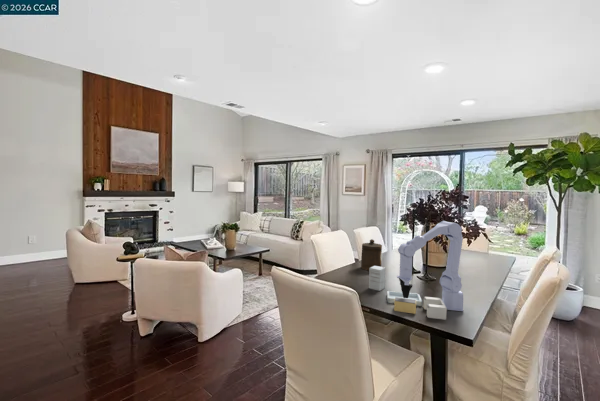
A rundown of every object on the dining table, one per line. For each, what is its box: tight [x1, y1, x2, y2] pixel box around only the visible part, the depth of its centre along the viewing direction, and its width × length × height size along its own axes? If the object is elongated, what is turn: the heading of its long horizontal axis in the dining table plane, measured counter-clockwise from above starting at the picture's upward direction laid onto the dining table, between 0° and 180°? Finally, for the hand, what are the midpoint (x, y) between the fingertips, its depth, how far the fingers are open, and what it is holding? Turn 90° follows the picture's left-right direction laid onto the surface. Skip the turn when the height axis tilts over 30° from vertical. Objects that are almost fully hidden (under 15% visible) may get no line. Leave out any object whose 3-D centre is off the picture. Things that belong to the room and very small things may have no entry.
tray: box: [386, 290, 423, 307], centre depth 163 cm, size 17×12×2 cm
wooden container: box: [360, 238, 383, 271], centre depth 227 cm, size 15×15×22 cm
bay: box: [422, 296, 448, 321], centre depth 147 cm, size 8×13×6 cm, turn 166°
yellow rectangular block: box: [393, 297, 417, 315], centre depth 150 cm, size 10×5×5 cm, turn 70°
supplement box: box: [368, 266, 386, 292], centre depth 182 cm, size 7×7×13 cm
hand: (404, 295), depth 150 cm, fingers open, 7 cm apart
